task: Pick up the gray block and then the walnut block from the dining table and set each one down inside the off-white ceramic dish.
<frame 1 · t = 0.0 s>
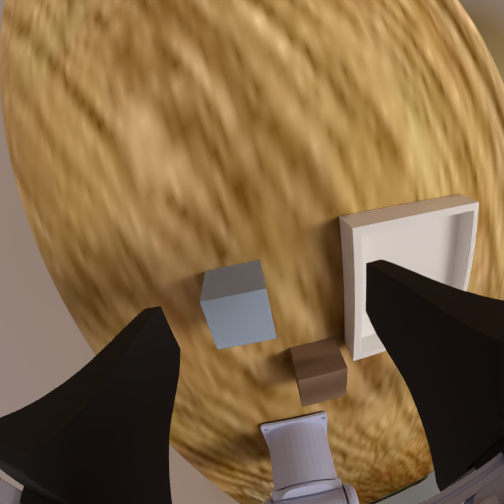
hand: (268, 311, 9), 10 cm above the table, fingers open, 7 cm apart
walnut block: (313, 356, 24), on the table
gray block: (238, 288, 21), on the table
dish: (406, 271, 21), on the table
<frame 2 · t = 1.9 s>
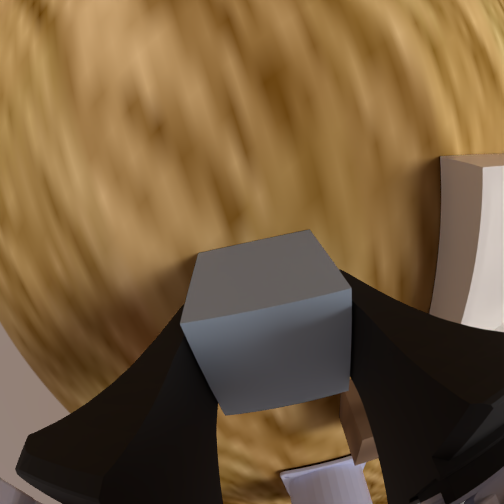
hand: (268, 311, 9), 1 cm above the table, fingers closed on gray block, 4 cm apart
walnut block: (370, 390, 14), on the table
gray block: (264, 289, 11), on the table, touching gripper
dish: (503, 257, 11), on the table
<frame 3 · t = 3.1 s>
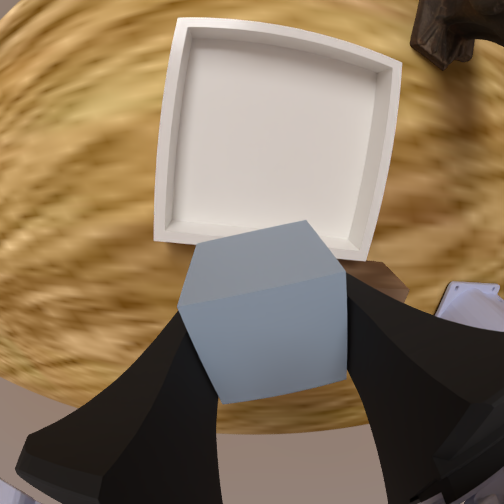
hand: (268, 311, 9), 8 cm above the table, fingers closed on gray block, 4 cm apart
walnut block: (351, 284, 19), on the table
gray block: (262, 279, 11), point 7 cm above the table, touching gripper
dish: (276, 136, 15), on the table
sculpture: (443, 8, 10), on the table
when the fingers open (4 cm above the table, at t = 4.5 s): gray block drops 2 cm, resting on dish.
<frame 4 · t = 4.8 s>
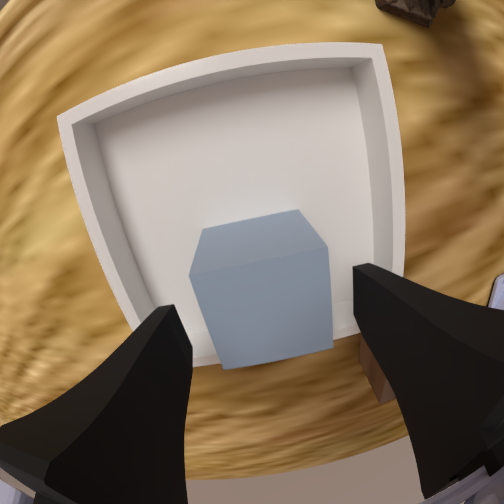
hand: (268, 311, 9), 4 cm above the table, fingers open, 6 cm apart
walnut block: (388, 327, 15), on the table
gray block: (259, 261, 12), point 1 cm above the table, touching dish
dish: (247, 208, 12), on the table
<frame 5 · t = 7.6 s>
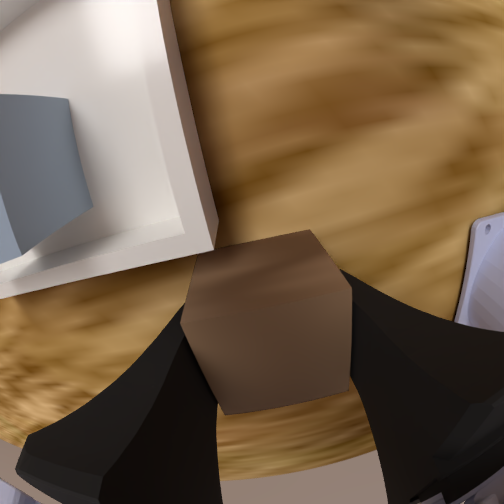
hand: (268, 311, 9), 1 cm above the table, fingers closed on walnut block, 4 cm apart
walnut block: (264, 289, 11), on the table, touching gripper
gray block: (38, 171, 7), point 1 cm above the table, touching dish
dish: (36, 116, 7), on the table
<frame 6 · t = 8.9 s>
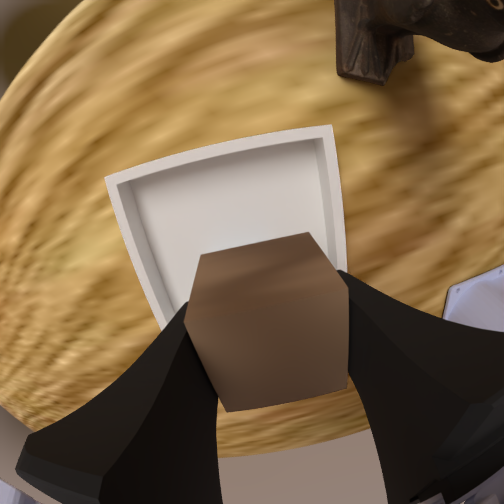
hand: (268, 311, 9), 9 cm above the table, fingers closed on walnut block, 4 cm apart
walnut block: (264, 289, 11), point 7 cm above the table, touching gripper
dish: (237, 239, 17), on the table
sculpture: (367, 0, 11), on the table
when the fingers open (4 cm above the table, at t = 10.3 s): walnut block drops 2 cm, resting on dish.
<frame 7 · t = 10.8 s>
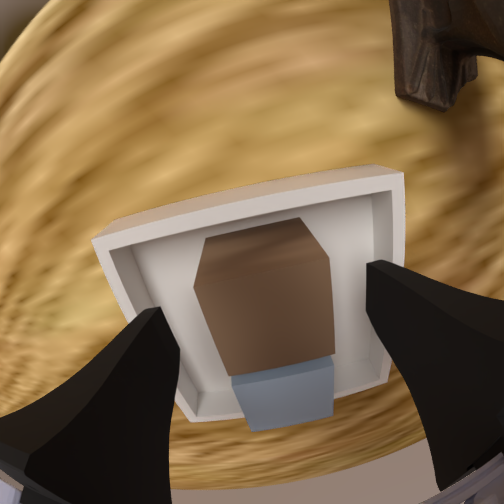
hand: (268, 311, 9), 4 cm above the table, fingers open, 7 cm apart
walnut block: (261, 269, 12), point 1 cm above the table, touching dish
gray block: (277, 344, 14), point 1 cm above the table, touching dish
dish: (268, 304, 14), on the table
sculpture: (422, 3, 8), on the table
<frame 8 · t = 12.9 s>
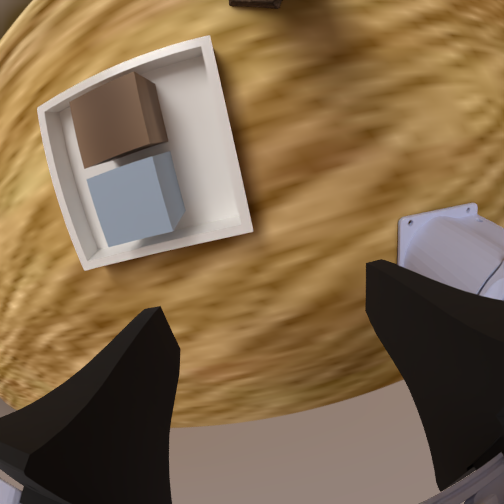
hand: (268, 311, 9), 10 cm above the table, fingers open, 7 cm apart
walnut block: (132, 122, 15), point 1 cm above the table, touching dish
gray block: (149, 189, 17), point 1 cm above the table, touching dish
dish: (142, 155, 16), on the table
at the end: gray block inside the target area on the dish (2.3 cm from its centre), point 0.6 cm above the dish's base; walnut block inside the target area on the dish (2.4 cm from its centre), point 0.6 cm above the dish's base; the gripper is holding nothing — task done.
